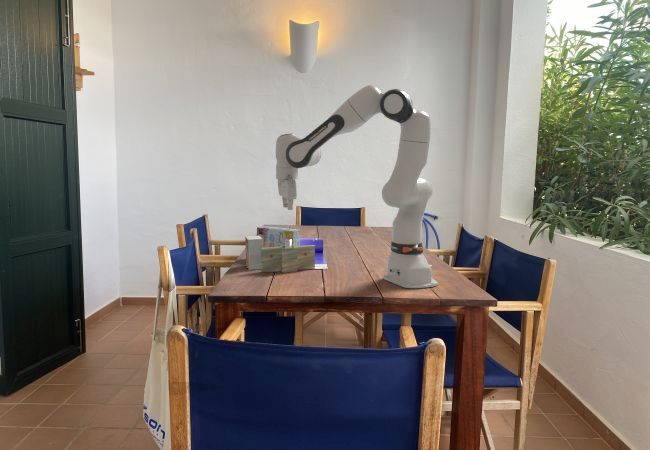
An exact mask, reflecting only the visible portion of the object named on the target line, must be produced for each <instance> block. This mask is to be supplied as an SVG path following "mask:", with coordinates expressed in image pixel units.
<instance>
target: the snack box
mask: <svg viewBox="0 0 650 450" xmlns="http://www.w3.org/2000/svg"><path fill="white" fill-rule="evenodd" d="M300 234H301V231H300V229H295V228H287V227H286V228H285V227H277V226H269V225H263V226H257V227H256V236H260V237H261V238H262V239H263V248H269V247H279V246H283V245H285V239H292V245H295V246H301V245H300V242H301V240H300V238H301V237H300Z"/></svg>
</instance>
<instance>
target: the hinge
mask: <svg viewBox="0 0 650 450" xmlns="http://www.w3.org/2000/svg"><path fill="white" fill-rule="evenodd" d="M315 266H316V245H315V244H311V245H310V244H307V245H300V246H295V245H292V248H285V245H283V246H279V247H269V248H261V269H260V270H261V273H272V272H273V273H275V272H281V273H284V274H285V273H294V272H298V271H302V270H314V269H316V267H315Z"/></svg>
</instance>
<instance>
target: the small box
mask: <svg viewBox="0 0 650 450" xmlns="http://www.w3.org/2000/svg"><path fill="white" fill-rule="evenodd" d="M244 239H245V240H244V241H245V266H246V267H247V269H248V271H251V270H252V271H253V270H261V248H263V239H262V238H261V237H260V236H257V235H249V236H245V237H244Z"/></svg>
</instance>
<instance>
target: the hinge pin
mask: <svg viewBox="0 0 650 450" xmlns="http://www.w3.org/2000/svg"><path fill="white" fill-rule="evenodd" d="M285 248H292V239H285Z"/></svg>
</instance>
